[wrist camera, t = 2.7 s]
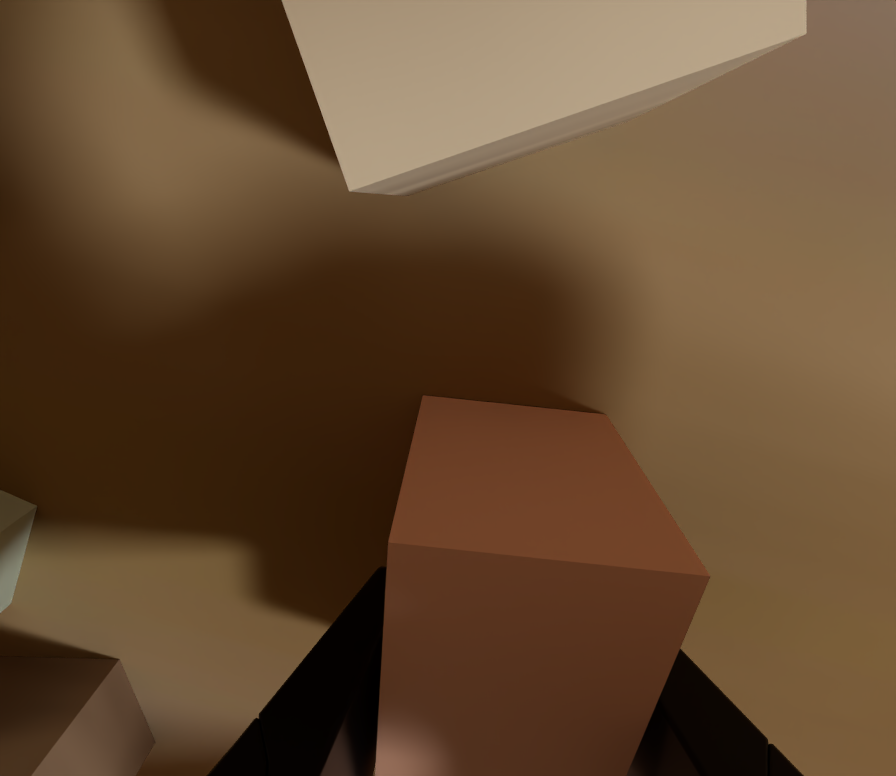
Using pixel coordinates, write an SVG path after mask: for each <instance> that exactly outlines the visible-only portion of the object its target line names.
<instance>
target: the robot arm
mask: <svg viewBox="0 0 896 776" xmlns="http://www.w3.org/2000/svg"><path fill="white" fill-rule="evenodd" d="M386 571H387V567H384V566H382V567H379V568H378V569H377V570H376V571H375V573H374V574H373V575H372V576H371V577H370V579H369V580H368V581H367V582H366V584H365V585H364V586H363V587H362V588H361V590H360V591H359V592H358V593H357V595H356V596H355V597H354V598H353V599H352V601H351V602H350V603H349V604H348V606H347V607H346V608H345V609H344V610H343V612H342V613H341V614H340V615H339V617H338V618H337V619H336V620H335V622H334V623H333V624H332V625H331V626H330V628H329V629H328V630H327V631H326V633H325V634H324V635H323V636H322V637H321V639H320V640H319V641H318V642H317V644H316V645H315V646H314V647H313V648H312V650H311V651H310V652H309V653H308V655H307V656H306V657H305V658H304V659H303V661H302V662H301V663H300V664H299V666H298V667H297V668H296V669H295V670H294V672H293V673H292V674H291V675H290V677H289V678H288V679H287V680H286V681H285V683H284V684H283V685H282V686H281V688H280V689H279V690H278V691H277V692H276V694H275V695H274V696H273V697H272V699H271V700H270V701H269V702H268V703H267V705H266V706H265V707H264V708H263V710H262V711H261V712H260V713H259V719H258V718H255V719H254V720H253V721H252V723H251V724H250V725H249V726H248V728H247V729H246V730H245V731H244V733H243V734H242V735H241V736H240V738H239V739H238V740H237V741H236V742H235V743H234V745H233V746H232V747H231V748H230V749H229V750H228V752H227V753H226V754H225V755H224V756H223V757H222V759H221V760H220V761H219V762H218V763H217V764H216V766H215V767H214V768H213V769H212V770H211V772H210V773H209V774H208V775H207V776H373V772H374V768H375V763H376V750H377V732H378V714H379V696H380V678H381V660H382V642H383V625H384V607H385V589H386ZM626 776H804V775H803V774H802V773H801V772H800V771H799V770H798V769H797V768H796V767H795V766H794V765H793V764H792V763H791V762H790V761H789V760H788V759H787V758H786V757H785V756H784V755H783V754H782V753H781V752H780V751H779V750H778V749H777V748H776V747H775V746H774V745H773V744H769V745H768V739H767V738H766V737H765V736H764V735H763V734H762V733H761V731H760V730H759V729H758V728H757V727H756V726H755V725H754V724H753V723H752V722H751V721H750V720H749V719H748V718H747V717H746V716H745V715H744V714H743V713H742V712H741V711H740V710H739V709H738V708H737V707H736V706H735V705H734V704H733V703H732V701H731V700H730V699H729V698H728V697H727V696H726V695H725V694H724V693H723V692H722V691H721V690H720V689H719V688H718V687H717V686H716V685H715V684H714V683H713V682H712V681H711V680H710V679H709V678H708V677H707V676H706V675H705V674H704V673H703V672H702V670H701V669H700V668H699V667H698V666H697V665H696V664H695V663H694V662H693V661H692V660H691V659H690V658H689V657H688V656H687V655H686V654H685V653H684V652H683V651H682V650H681V649H680V650H679V652H678V654H677V657H676V659H675V661H674V664H673V666H672V668H671V671H670V673H669V676H668V678H667V680H666V683H665V685H664V687H663V690H662V692H661V695H660V697H659V699H658V702H657V704H656V706H655V709H654V711H653V713H652V716H651V718H650V721H649V723H648V725H647V728H646V730H645V732H644V735H643V737H642V739H641V742H640V744H639V747H638V749H637V751H636V754H635V756H634V758H633V761H632V763H631V765H630V768H629V770H628V773H627V775H626Z"/></svg>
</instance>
